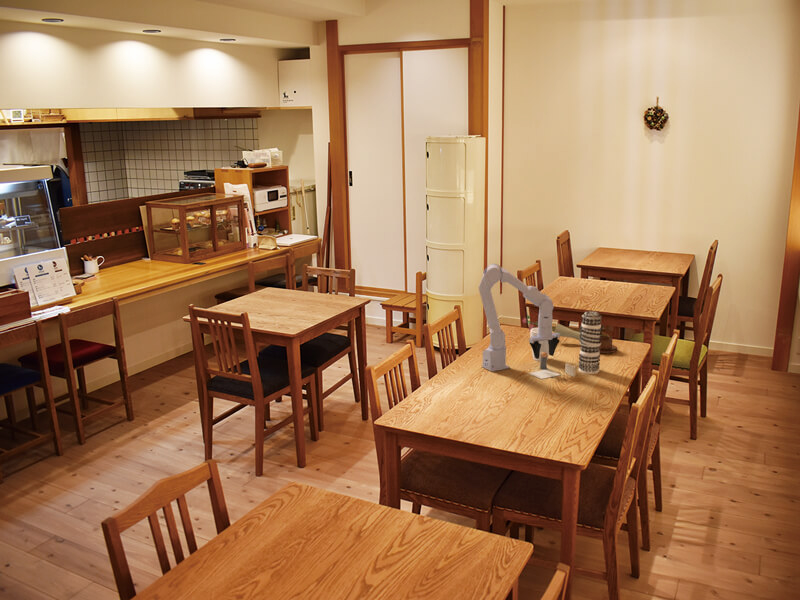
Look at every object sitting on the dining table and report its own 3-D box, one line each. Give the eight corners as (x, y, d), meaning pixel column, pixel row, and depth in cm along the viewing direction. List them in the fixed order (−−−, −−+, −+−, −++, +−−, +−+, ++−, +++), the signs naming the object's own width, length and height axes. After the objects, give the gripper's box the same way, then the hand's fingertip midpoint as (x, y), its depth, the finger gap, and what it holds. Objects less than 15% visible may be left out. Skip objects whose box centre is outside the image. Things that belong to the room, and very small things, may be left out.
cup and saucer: (618, 356, 316) (619, 342, 315) (590, 354, 319) (591, 341, 317) (615, 348, 328) (616, 335, 326) (589, 346, 330) (589, 333, 329)
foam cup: (552, 362, 308) (554, 333, 305) (531, 362, 309) (532, 333, 306) (548, 355, 318) (549, 327, 315) (528, 355, 318) (528, 327, 315)
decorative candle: (574, 372, 296) (577, 314, 290) (580, 365, 304) (583, 309, 298) (597, 375, 292) (600, 316, 286) (602, 368, 300) (605, 311, 294)
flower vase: (589, 362, 330) (516, 340, 339) (593, 348, 340) (522, 326, 349) (595, 342, 323) (520, 320, 332) (599, 328, 333) (526, 307, 342)
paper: (541, 379, 288) (541, 378, 288) (529, 373, 295) (529, 372, 295) (560, 375, 292) (560, 374, 292) (548, 369, 299) (548, 368, 299)
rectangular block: (574, 376, 291) (575, 366, 290) (573, 376, 291) (573, 367, 290) (566, 372, 296) (567, 363, 295) (565, 372, 295) (565, 363, 294)
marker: (542, 370, 299) (543, 354, 297) (538, 368, 301) (539, 352, 299) (547, 369, 300) (548, 353, 298) (543, 367, 302) (544, 351, 301)
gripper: (537, 330, 289) (536, 362, 293) (565, 325, 296) (563, 356, 299) (526, 326, 295) (525, 357, 299) (554, 321, 302) (553, 352, 305)
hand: (544, 356), depth 299 cm, fingers open, 7 cm apart
